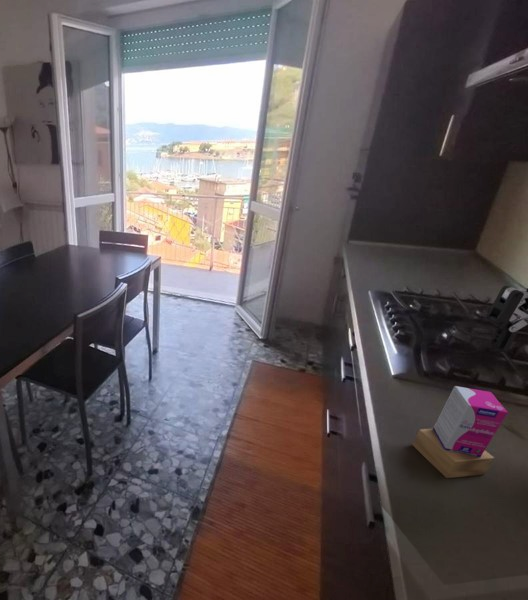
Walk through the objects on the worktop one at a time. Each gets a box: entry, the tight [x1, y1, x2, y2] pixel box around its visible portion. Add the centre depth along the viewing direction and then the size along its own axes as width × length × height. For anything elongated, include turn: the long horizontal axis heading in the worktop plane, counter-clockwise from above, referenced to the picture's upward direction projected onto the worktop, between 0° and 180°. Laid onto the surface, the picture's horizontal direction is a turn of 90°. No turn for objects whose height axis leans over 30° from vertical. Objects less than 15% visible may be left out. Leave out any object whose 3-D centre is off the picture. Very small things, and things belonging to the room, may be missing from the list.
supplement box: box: [432, 385, 509, 457], centre depth 67 cm, size 6×6×12 cm
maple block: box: [412, 427, 495, 479], centre depth 70 cm, size 8×8×4 cm
